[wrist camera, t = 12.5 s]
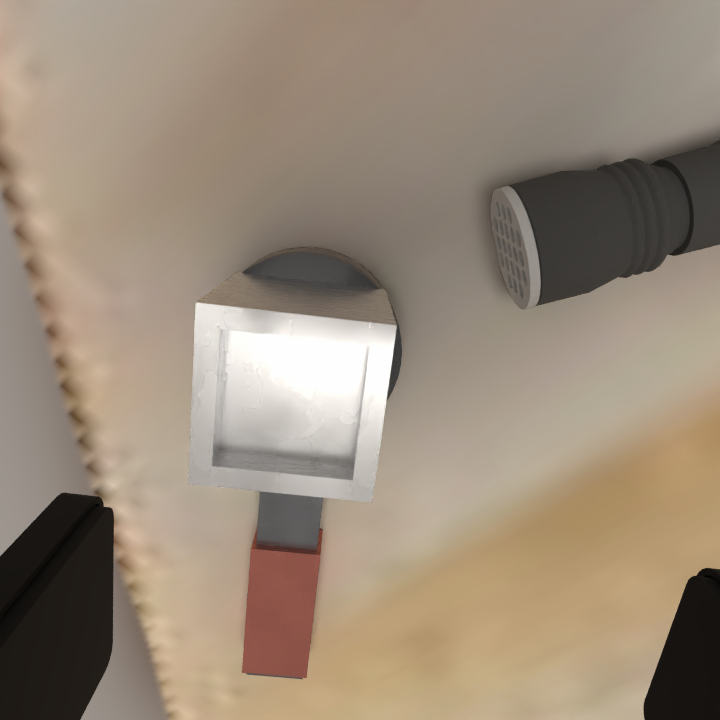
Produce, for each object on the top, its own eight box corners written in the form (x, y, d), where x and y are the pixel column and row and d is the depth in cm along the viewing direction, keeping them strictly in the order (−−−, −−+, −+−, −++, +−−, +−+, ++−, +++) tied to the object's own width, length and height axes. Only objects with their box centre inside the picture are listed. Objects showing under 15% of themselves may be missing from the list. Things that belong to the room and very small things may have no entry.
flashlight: (809, 100, 27) (918, 79, 22) (813, 216, 28) (917, 223, 23) (483, 188, 28) (513, 189, 23) (504, 297, 29) (537, 321, 24)
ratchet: (353, 656, 35) (353, 766, 29) (203, 643, 35) (167, 752, 28) (408, 258, 29) (425, 280, 22) (223, 236, 28) (183, 252, 21)
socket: (236, 272, 26) (195, 302, 19) (385, 289, 26) (396, 325, 19) (228, 411, 28) (188, 484, 21) (367, 426, 28) (372, 502, 21)
